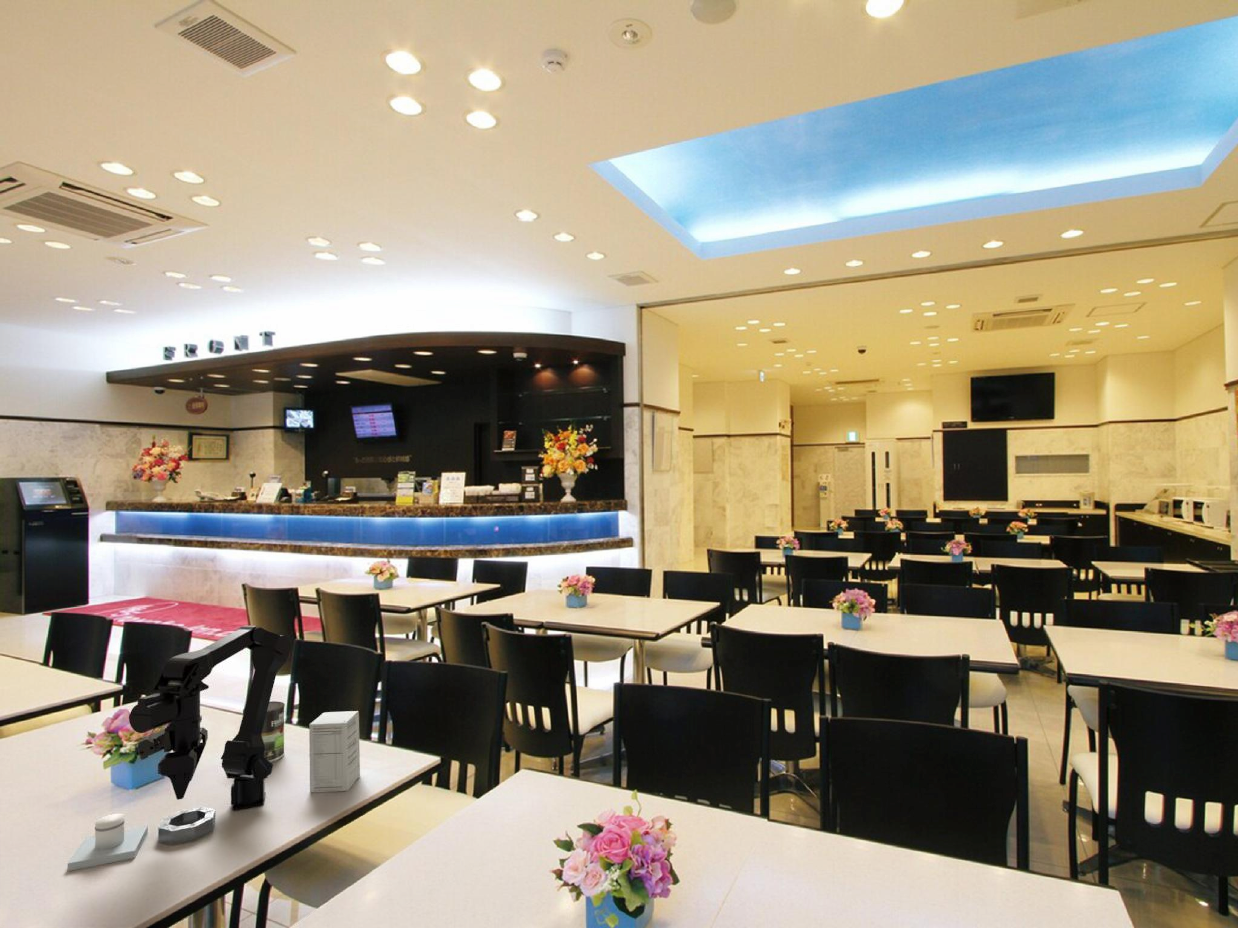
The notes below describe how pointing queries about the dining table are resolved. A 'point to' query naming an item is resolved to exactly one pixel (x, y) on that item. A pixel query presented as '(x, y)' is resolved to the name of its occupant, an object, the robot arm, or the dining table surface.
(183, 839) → the steel ring
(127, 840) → the piston base
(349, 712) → the supplement box
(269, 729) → the coffee can
